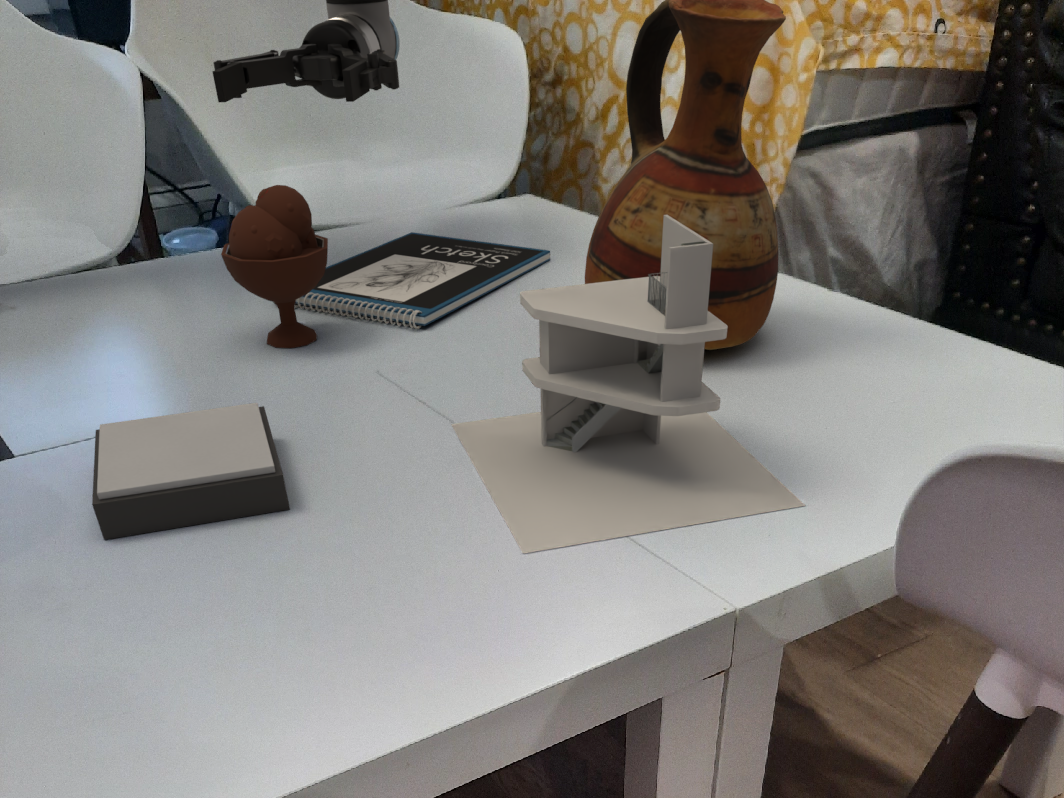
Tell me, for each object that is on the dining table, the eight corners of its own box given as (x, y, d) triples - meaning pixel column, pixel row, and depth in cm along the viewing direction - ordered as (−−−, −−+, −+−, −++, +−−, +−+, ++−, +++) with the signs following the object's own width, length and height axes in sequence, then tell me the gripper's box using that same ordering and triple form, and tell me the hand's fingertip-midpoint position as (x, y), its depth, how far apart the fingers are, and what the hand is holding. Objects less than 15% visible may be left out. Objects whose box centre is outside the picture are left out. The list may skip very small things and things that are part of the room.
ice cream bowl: (303, 315, 115) (278, 168, 105) (362, 338, 109) (341, 184, 99) (222, 339, 109) (187, 187, 100) (279, 365, 103) (248, 205, 93)
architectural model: (684, 391, 96) (700, 181, 84) (805, 505, 78) (846, 259, 66) (451, 424, 91) (433, 206, 80) (523, 553, 73) (513, 297, 62)
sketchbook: (550, 261, 130) (550, 244, 128) (420, 334, 110) (418, 314, 108) (412, 241, 138) (410, 225, 137) (267, 305, 118) (264, 287, 116)
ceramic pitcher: (683, 386, 97) (710, 6, 77) (544, 334, 108) (538, -7, 89) (809, 336, 106) (861, -13, 87) (669, 293, 118) (688, -23, 99)
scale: (106, 462, 86) (93, 422, 84) (270, 438, 90) (262, 399, 87) (104, 540, 76) (89, 497, 74) (290, 509, 79) (281, 467, 77)
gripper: (447, 93, 119) (406, 128, 103) (245, 95, 122) (175, 129, 106) (441, 17, 114) (398, 40, 98) (232, 20, 117) (156, 43, 101)
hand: (282, 86), depth 102 cm, fingers open, 13 cm apart
